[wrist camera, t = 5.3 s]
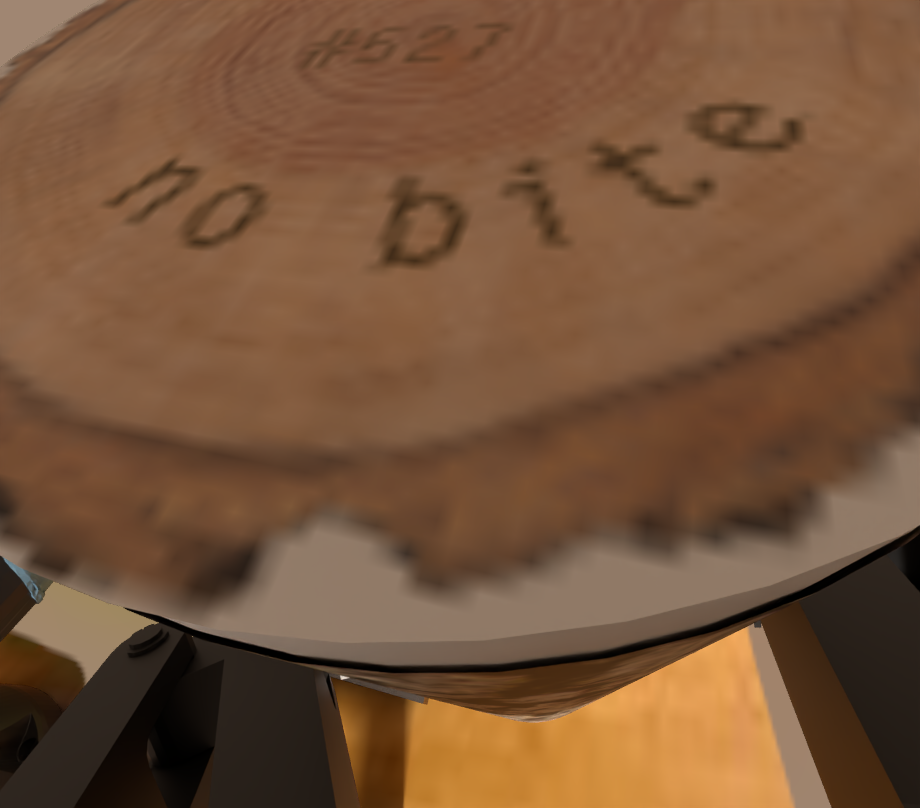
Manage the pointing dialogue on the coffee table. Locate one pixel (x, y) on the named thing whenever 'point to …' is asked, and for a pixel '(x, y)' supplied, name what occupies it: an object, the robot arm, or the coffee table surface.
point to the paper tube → (462, 325)
